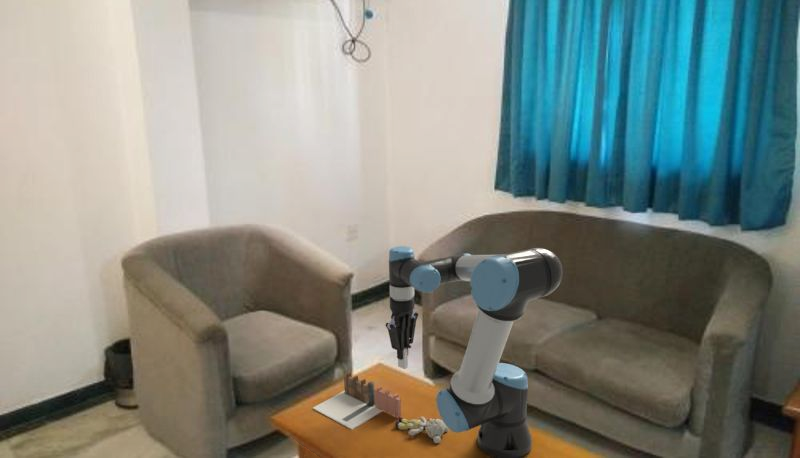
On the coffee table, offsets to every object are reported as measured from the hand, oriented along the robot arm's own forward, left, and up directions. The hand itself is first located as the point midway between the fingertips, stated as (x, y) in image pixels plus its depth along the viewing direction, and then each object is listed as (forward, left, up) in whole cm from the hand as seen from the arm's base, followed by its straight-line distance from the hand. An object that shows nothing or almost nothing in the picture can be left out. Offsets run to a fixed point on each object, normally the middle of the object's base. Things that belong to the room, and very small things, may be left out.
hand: (402, 366), depth 185 cm
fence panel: (0, +7, -12) cm, 14 cm away
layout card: (+11, +12, -13) cm, 21 cm away
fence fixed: (+13, +7, -13) cm, 20 cm away
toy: (-14, +8, -14) cm, 21 cm away
